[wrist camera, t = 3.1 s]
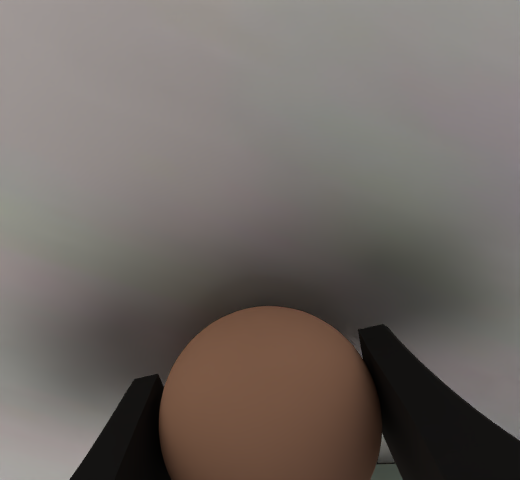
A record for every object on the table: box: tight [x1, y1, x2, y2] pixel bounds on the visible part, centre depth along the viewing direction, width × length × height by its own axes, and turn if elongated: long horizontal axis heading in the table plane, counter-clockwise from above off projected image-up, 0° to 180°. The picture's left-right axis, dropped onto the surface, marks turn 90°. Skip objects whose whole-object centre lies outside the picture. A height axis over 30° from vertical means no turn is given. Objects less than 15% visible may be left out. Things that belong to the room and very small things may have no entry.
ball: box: [159, 306, 382, 480], centre depth 11 cm, size 5×5×5 cm
